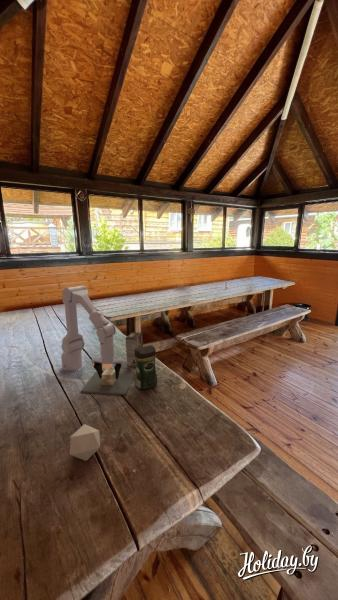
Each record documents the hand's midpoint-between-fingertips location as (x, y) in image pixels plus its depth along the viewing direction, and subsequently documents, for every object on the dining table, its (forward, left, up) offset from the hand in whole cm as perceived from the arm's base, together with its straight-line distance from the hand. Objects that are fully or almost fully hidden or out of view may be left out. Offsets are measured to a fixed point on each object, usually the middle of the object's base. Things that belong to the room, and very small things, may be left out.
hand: (109, 377), depth 112 cm
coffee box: (+7, +21, -3) cm, 22 cm away
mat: (0, 0, -3) cm, 3 cm away
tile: (-9, +17, -3) cm, 19 cm away
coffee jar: (+17, +1, -3) cm, 17 cm away
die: (+6, -38, -3) cm, 39 cm away
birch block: (0, 0, -2) cm, 2 cm away
